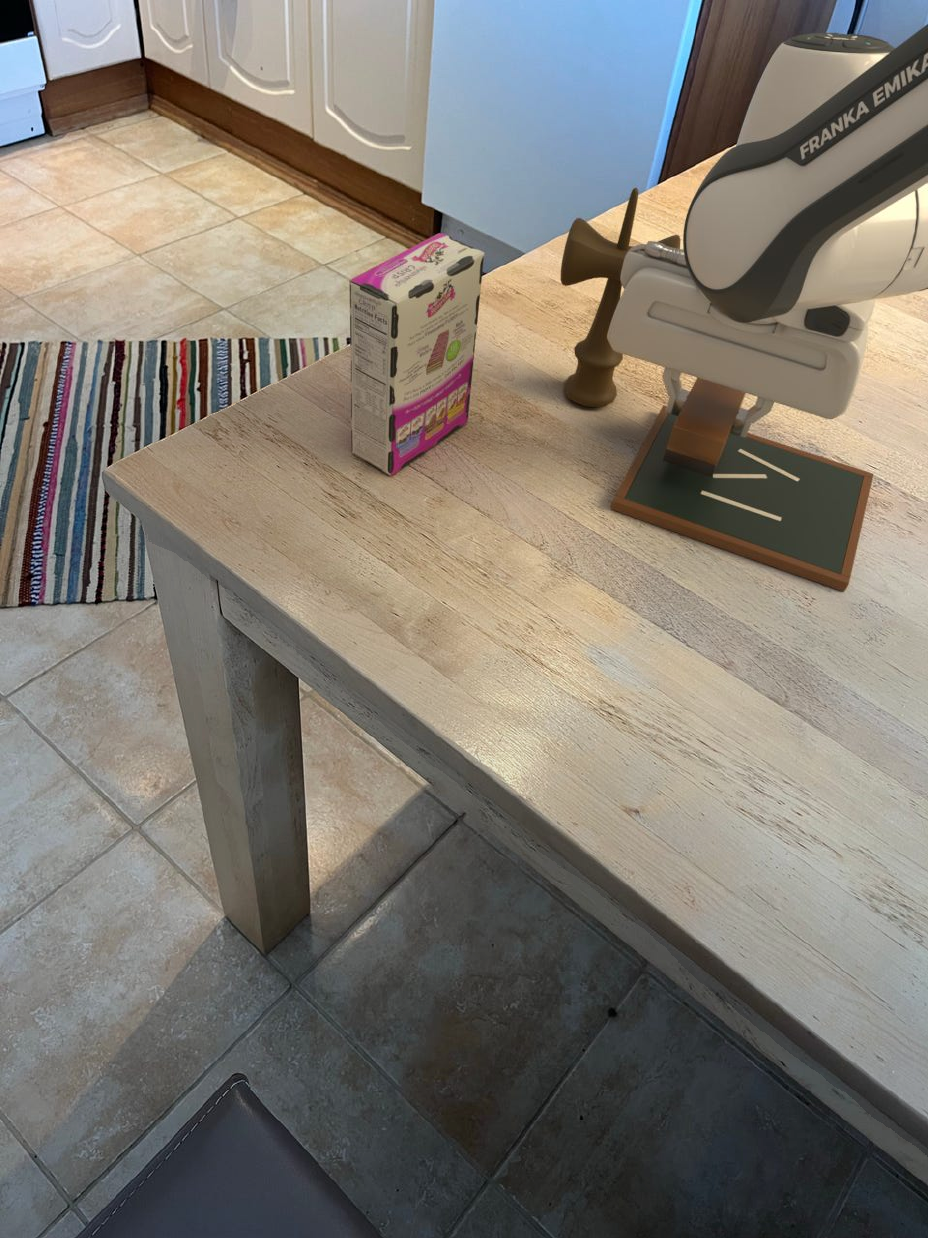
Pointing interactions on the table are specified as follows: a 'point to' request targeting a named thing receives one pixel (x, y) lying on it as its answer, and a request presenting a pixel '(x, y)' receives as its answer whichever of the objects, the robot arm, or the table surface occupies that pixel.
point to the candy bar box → (412, 350)
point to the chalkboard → (754, 503)
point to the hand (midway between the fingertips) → (707, 422)
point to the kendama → (599, 260)
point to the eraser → (703, 427)
